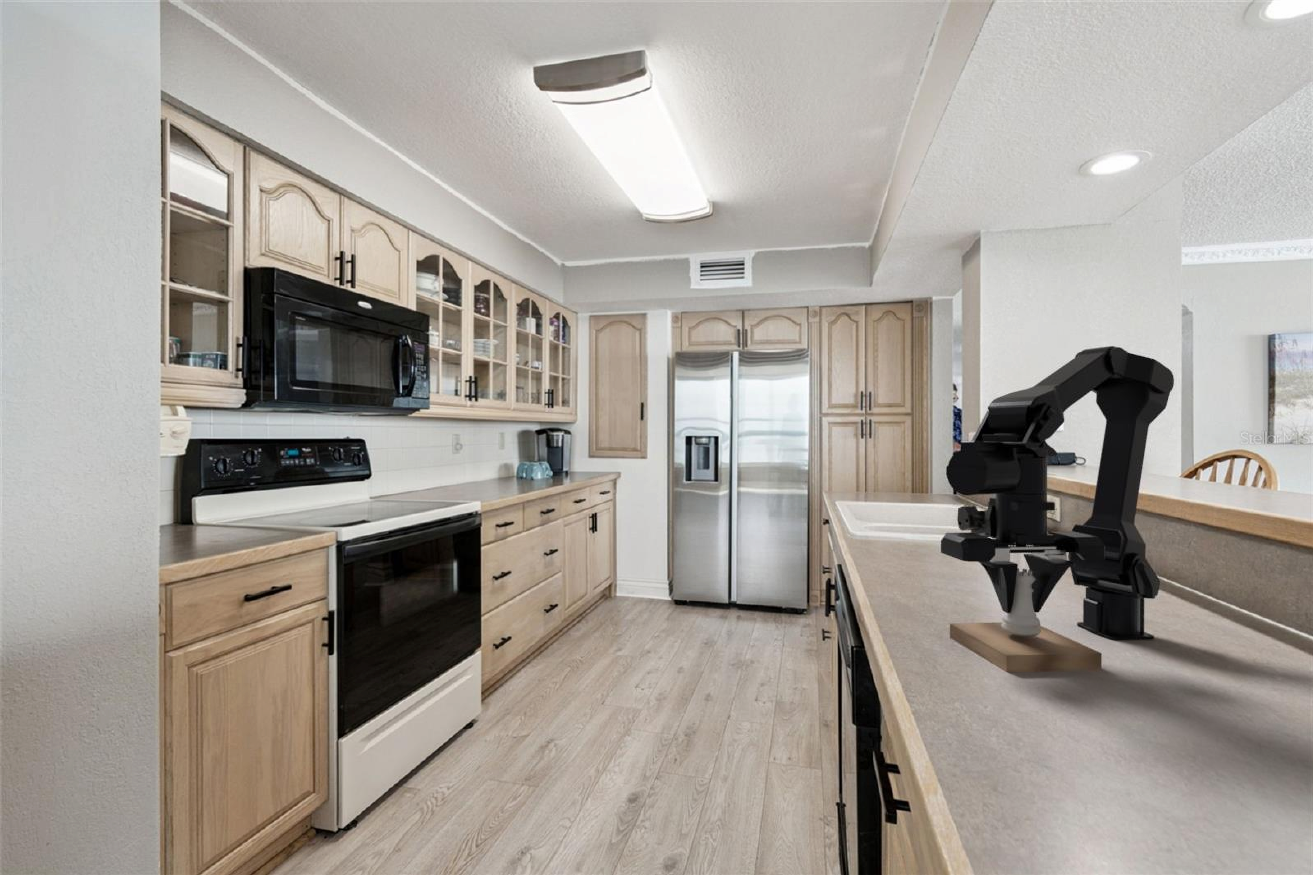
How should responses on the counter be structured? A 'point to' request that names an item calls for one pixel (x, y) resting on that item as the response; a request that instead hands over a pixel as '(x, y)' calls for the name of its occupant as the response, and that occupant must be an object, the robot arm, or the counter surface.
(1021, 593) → the rook chess piece
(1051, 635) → the walnut block
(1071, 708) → the counter surface
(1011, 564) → the robot arm
